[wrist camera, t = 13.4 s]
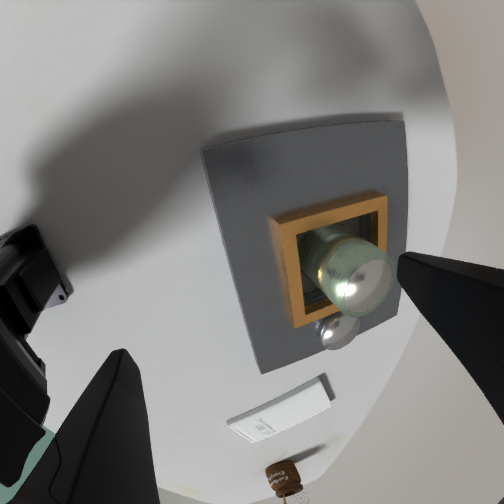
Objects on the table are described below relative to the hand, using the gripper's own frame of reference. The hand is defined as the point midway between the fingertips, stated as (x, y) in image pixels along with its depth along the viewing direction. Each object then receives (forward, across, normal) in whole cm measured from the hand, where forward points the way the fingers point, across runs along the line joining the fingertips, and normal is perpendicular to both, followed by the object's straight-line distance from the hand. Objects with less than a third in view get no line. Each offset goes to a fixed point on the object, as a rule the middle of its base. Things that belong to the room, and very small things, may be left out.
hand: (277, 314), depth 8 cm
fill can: (+12, -8, +6) cm, 16 cm away
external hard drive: (+13, -1, +28) cm, 31 cm away
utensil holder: (+12, +2, +51) cm, 52 cm away
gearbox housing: (+12, -8, +6) cm, 16 cm away
